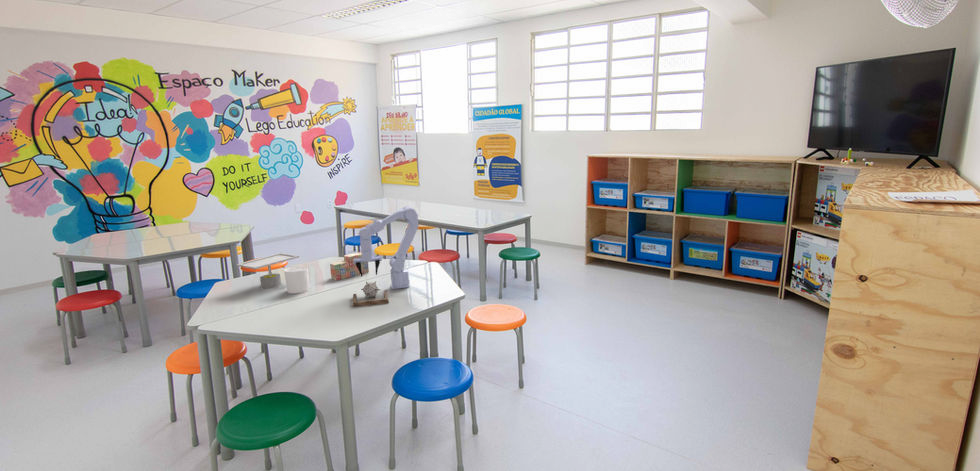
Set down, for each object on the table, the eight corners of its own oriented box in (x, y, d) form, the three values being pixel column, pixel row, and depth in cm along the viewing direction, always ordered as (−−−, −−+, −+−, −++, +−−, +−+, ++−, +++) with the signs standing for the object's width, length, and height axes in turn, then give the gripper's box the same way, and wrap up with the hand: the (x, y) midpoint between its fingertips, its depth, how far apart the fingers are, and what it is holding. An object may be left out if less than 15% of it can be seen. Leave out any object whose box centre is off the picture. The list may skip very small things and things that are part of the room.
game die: (375, 302, 258) (385, 286, 258) (369, 302, 249) (380, 285, 250) (361, 293, 259) (371, 277, 260) (355, 293, 251) (365, 276, 252)
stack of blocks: (336, 280, 287) (333, 260, 284) (331, 278, 292) (329, 258, 289) (369, 272, 301) (367, 252, 299) (364, 270, 306) (362, 251, 303)
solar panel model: (258, 294, 266) (255, 267, 263) (239, 290, 275) (236, 264, 272) (302, 280, 289) (299, 255, 286) (283, 277, 298) (280, 252, 295)
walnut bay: (387, 293, 259) (387, 290, 259) (388, 302, 246) (388, 299, 245) (353, 297, 255) (353, 293, 255) (353, 306, 242) (352, 303, 241)
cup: (295, 286, 278) (292, 265, 276) (314, 287, 276) (311, 266, 273) (282, 293, 267) (279, 271, 265) (302, 294, 265) (299, 272, 262)
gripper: (380, 247, 267) (382, 271, 270) (352, 249, 263) (355, 274, 266) (380, 250, 260) (383, 275, 263) (352, 252, 257) (354, 278, 260)
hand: (369, 275), depth 264 cm, fingers open, 7 cm apart
